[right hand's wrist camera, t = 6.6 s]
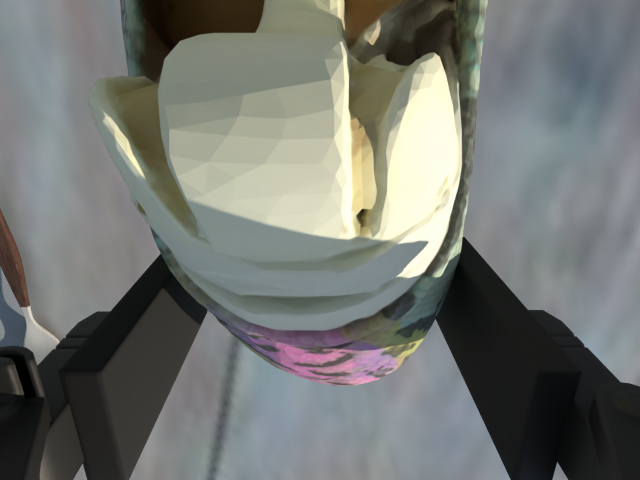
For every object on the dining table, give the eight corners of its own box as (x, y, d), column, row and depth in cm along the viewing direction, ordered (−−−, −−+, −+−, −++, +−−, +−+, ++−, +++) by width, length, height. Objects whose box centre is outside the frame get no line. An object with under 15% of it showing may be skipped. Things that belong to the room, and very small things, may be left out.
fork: (7, 156, 24) (-20, 164, 22) (76, 389, 29) (60, 410, 28) (-40, 158, 24) (-71, 165, 22) (38, 390, 29) (20, 411, 28)
